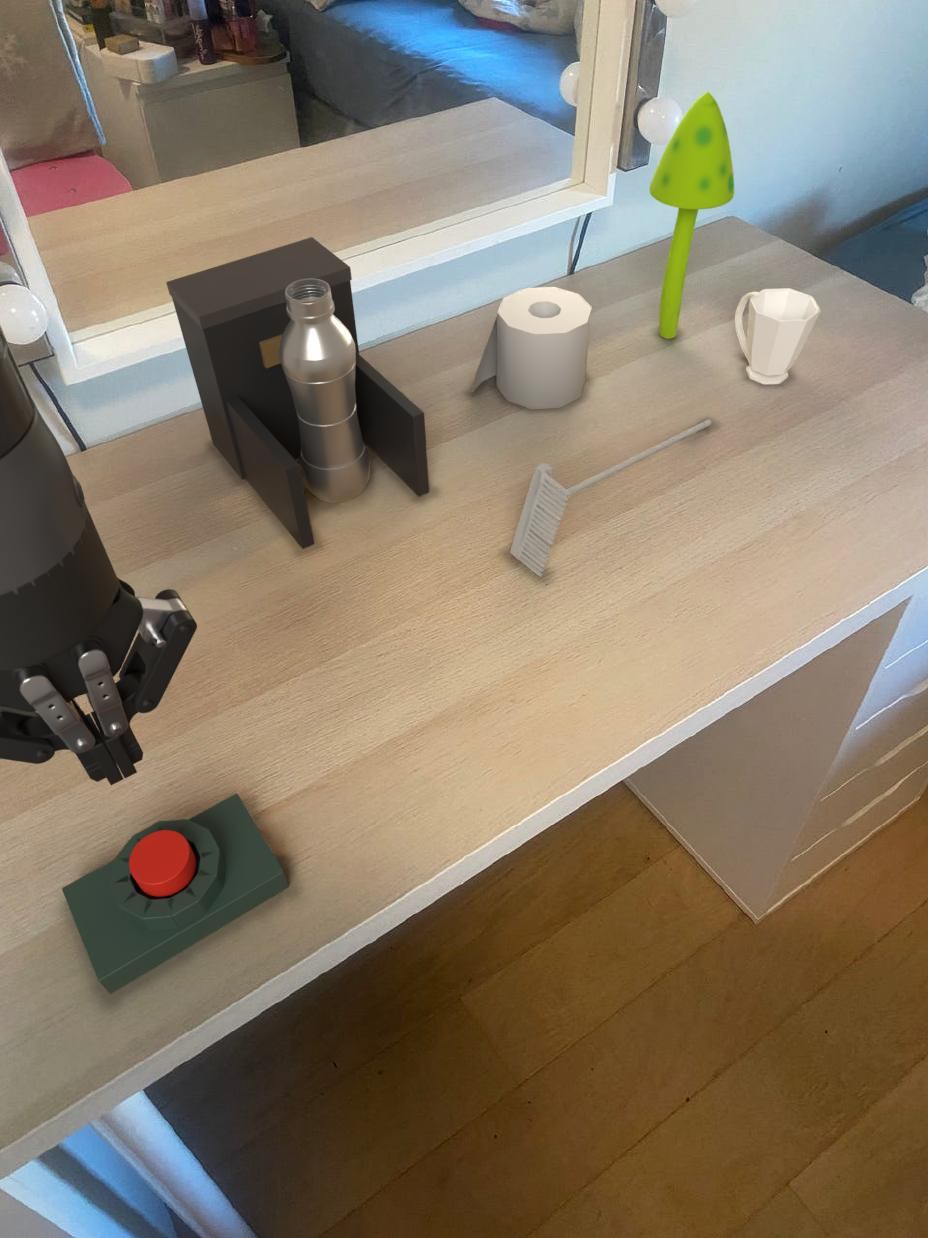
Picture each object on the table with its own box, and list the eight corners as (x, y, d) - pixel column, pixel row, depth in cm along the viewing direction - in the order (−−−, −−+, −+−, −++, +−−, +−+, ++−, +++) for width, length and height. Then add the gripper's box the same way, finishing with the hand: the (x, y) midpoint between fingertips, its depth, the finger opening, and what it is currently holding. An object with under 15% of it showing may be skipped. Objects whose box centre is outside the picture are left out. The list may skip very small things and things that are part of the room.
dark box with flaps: (433, 490, 84) (423, 324, 71) (298, 551, 79) (262, 383, 66) (335, 396, 95) (312, 236, 82) (211, 443, 90) (165, 281, 77)
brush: (716, 478, 92) (754, 400, 85) (539, 578, 76) (569, 492, 70) (688, 458, 94) (723, 380, 87) (508, 552, 78) (534, 466, 71)
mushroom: (713, 323, 103) (762, 82, 85) (694, 360, 98) (742, 112, 80) (643, 309, 106) (676, 71, 87) (620, 344, 101) (651, 100, 82)
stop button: (149, 908, 53) (141, 895, 52) (128, 862, 55) (120, 849, 54) (205, 876, 55) (198, 863, 53) (183, 833, 57) (175, 819, 55)
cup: (759, 398, 93) (778, 328, 87) (704, 351, 99) (718, 282, 93) (814, 382, 95) (836, 311, 89) (757, 337, 101) (774, 268, 95)
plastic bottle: (303, 514, 82) (263, 314, 67) (306, 468, 87) (269, 271, 72) (373, 509, 83) (348, 309, 68) (372, 463, 87) (349, 266, 72)
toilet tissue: (452, 395, 95) (449, 321, 88) (544, 350, 100) (548, 277, 94) (508, 434, 90) (510, 359, 83) (602, 385, 95) (610, 310, 89)
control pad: (110, 995, 54) (88, 970, 51) (73, 903, 58) (50, 875, 55) (289, 887, 58) (278, 858, 55) (243, 809, 62) (231, 778, 59)
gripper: (117, 421, 39) (206, 668, 52) (-215, 537, 35) (-27, 777, 47) (181, 514, 35) (261, 758, 48) (-187, 662, 30) (12, 888, 43)
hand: (118, 767), depth 48 cm, fingers closed
